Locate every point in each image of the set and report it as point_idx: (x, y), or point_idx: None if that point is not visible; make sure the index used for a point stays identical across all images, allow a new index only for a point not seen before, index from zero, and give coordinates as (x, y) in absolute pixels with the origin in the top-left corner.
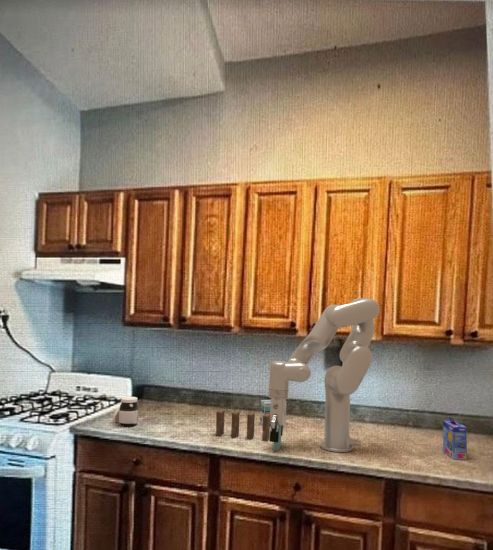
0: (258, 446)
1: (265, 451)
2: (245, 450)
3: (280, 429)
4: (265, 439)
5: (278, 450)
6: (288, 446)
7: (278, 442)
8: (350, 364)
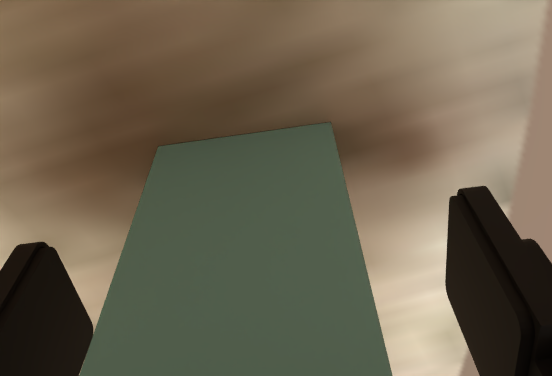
0: None
1: (411, 235)
2: (443, 370)
3: (190, 342)
4: None
5: (330, 125)
6: (55, 65)
7: (345, 187)
8: None
